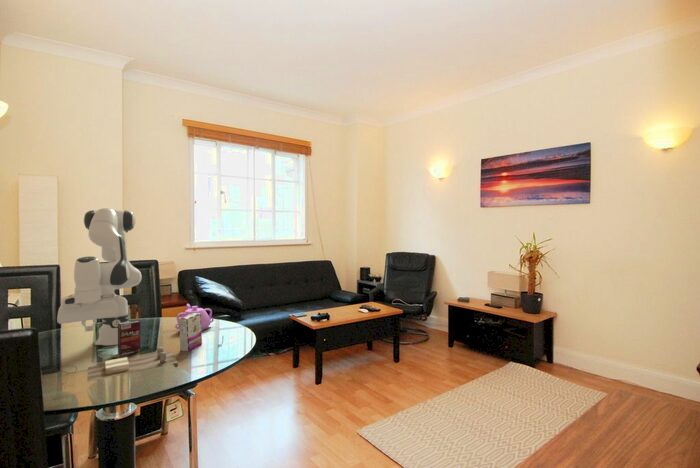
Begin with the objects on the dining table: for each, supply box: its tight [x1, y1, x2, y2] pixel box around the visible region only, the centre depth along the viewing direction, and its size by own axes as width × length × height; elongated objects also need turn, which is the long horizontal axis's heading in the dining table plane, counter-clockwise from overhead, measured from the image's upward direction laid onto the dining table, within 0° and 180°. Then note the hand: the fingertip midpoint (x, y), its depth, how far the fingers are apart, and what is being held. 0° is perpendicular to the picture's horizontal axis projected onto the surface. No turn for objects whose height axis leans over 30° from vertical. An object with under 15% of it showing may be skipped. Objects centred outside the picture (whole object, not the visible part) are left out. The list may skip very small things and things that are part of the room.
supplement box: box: [117, 319, 141, 356], centre depth 173 cm, size 9×5×16 cm, turn 136°
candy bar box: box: [178, 313, 203, 352], centre depth 182 cm, size 11×5×16 cm, turn 168°
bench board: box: [87, 346, 179, 383], centre depth 156 cm, size 18×32×6 cm, turn 125°
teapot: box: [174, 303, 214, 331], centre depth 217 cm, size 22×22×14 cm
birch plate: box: [104, 356, 129, 374], centre depth 153 cm, size 10×8×2 cm
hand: (89, 330), depth 147 cm, fingers closed
